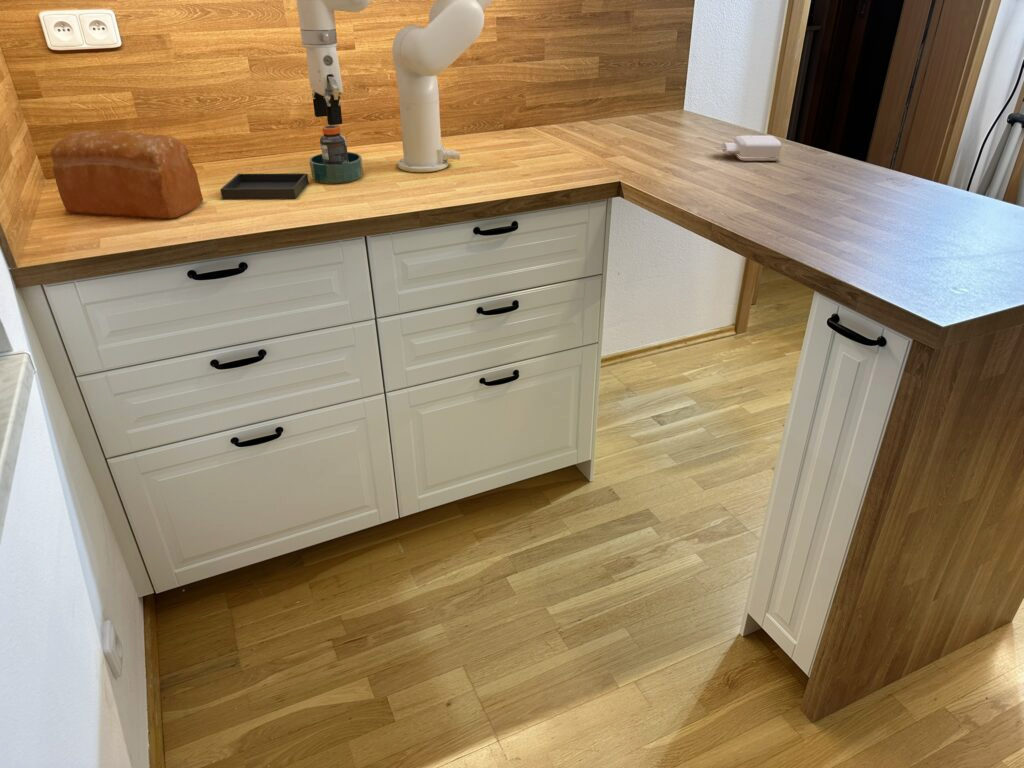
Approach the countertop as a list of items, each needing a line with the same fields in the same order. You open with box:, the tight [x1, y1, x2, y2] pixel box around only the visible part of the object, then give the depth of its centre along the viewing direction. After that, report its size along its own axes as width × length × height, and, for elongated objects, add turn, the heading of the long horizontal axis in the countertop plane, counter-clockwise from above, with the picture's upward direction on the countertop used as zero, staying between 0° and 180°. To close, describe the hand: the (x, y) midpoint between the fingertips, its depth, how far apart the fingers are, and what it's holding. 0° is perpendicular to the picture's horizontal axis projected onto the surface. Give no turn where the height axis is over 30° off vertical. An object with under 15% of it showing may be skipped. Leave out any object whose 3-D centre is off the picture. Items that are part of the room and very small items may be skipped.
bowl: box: [308, 151, 364, 185], centre depth 174 cm, size 12×12×4 cm
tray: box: [219, 172, 310, 200], centre depth 165 cm, size 16×12×2 cm
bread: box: [49, 130, 204, 219], centre depth 152 cm, size 14×26×16 cm, turn 80°
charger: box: [714, 135, 782, 162], centre depth 187 cm, size 5×9×15 cm
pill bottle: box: [319, 125, 349, 165], centre depth 172 cm, size 6×6×11 cm
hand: (328, 120), depth 168 cm, fingers open, 9 cm apart
